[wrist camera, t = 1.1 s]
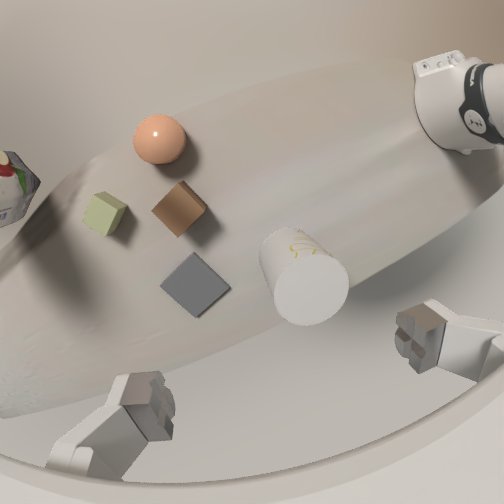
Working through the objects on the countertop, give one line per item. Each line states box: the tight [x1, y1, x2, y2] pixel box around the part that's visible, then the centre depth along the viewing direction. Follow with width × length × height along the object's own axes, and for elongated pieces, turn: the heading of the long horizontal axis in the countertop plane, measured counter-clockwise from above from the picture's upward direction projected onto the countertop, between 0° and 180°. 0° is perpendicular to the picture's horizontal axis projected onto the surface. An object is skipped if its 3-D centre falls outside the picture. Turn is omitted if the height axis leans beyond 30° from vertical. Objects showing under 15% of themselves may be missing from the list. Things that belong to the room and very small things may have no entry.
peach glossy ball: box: [134, 114, 186, 164], centre depth 32 cm, size 6×6×4 cm
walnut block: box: [152, 181, 207, 237], centre depth 34 cm, size 4×4×5 cm
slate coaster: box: [160, 252, 229, 318], centre depth 39 cm, size 7×7×1 cm
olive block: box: [82, 192, 127, 237], centre depth 34 cm, size 4×4×4 cm
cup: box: [259, 227, 349, 326], centre depth 34 cm, size 8×8×12 cm
